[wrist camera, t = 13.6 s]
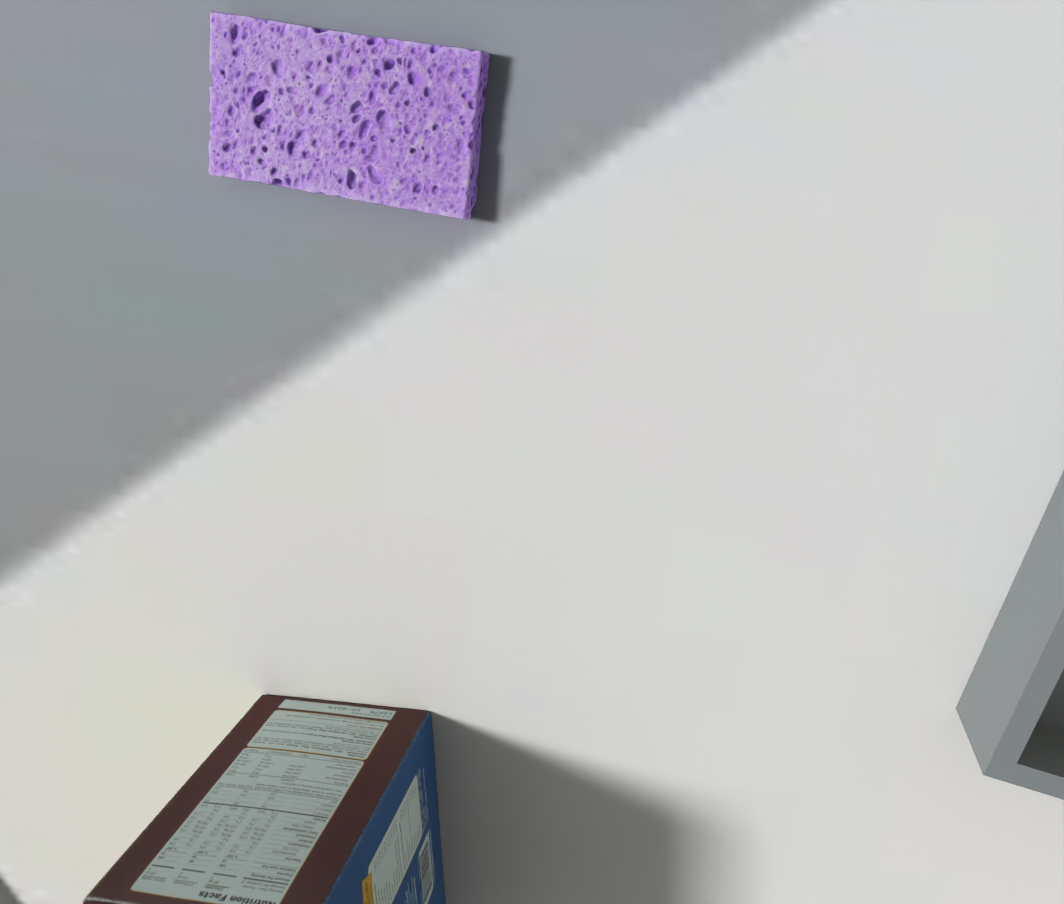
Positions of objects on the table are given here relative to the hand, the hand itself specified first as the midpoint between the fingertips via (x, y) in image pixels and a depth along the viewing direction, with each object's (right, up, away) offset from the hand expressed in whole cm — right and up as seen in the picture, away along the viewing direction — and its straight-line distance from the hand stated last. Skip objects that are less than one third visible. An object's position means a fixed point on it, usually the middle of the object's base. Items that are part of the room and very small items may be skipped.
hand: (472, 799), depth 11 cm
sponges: (-7, +19, +30) cm, 37 cm away
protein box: (-9, -17, +42) cm, 46 cm away
